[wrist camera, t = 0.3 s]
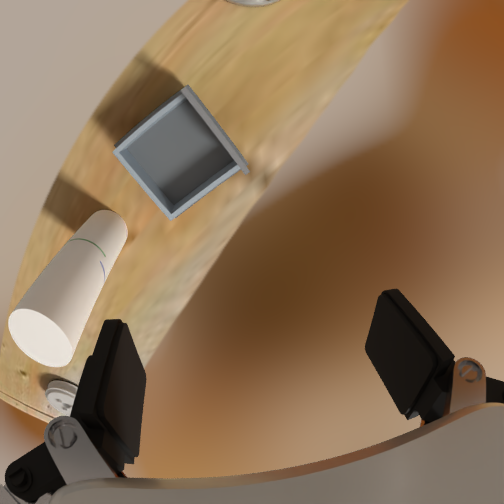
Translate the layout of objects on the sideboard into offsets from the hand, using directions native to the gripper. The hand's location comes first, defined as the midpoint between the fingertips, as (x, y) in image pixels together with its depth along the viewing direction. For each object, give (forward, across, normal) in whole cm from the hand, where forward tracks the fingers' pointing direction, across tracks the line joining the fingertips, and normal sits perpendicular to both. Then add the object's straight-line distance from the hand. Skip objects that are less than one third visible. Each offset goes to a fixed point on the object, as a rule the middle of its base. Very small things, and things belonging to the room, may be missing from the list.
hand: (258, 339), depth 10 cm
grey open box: (+35, +5, -3) cm, 35 cm away
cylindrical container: (+35, +18, +9) cm, 40 cm away
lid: (+35, +44, +51) cm, 76 cm away
